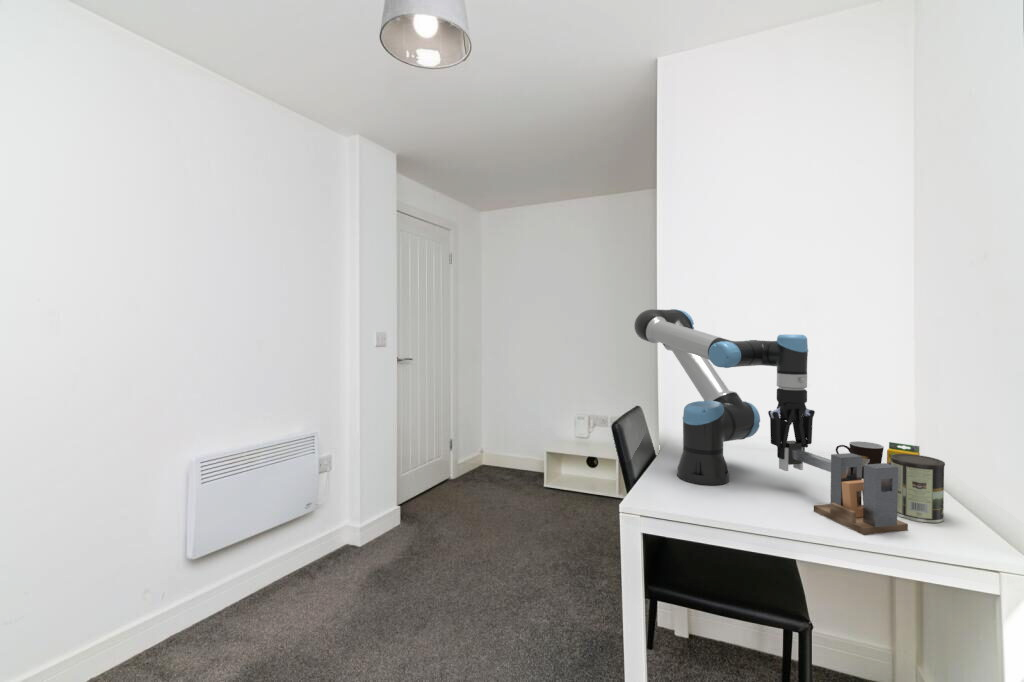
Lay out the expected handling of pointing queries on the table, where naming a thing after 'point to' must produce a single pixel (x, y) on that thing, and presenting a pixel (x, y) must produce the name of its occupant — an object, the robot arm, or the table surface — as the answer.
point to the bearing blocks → (868, 488)
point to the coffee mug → (865, 452)
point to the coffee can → (920, 487)
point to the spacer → (852, 495)
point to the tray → (855, 520)
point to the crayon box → (901, 450)
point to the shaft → (808, 457)
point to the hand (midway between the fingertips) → (790, 468)
